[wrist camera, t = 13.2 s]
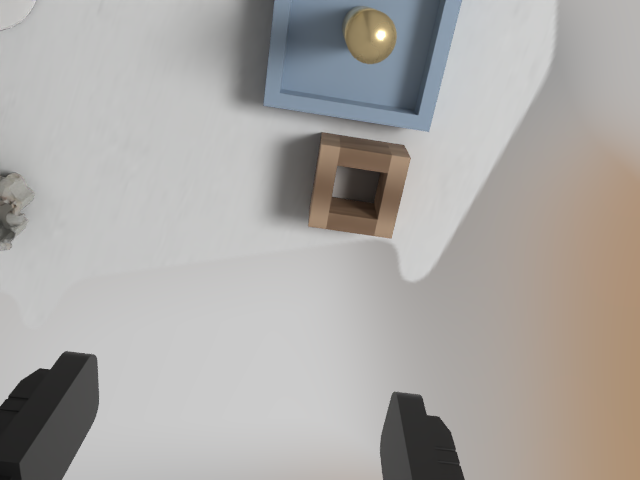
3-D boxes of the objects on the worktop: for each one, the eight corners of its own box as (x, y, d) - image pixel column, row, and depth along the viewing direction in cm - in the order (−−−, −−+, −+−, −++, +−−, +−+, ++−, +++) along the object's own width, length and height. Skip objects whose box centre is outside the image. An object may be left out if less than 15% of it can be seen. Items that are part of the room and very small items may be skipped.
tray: (287, -88, 39) (284, -93, 36) (466, -55, 40) (476, -58, 37) (267, 98, 45) (263, 105, 42) (422, 123, 46) (428, 131, 43)
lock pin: (346, 1, 41) (352, 5, 32) (385, 10, 41) (402, 15, 32) (338, 44, 42) (341, 58, 33) (376, 52, 42) (389, 68, 33)
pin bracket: (321, 132, 46) (321, 144, 43) (404, 145, 47) (410, 158, 43) (309, 209, 50) (308, 226, 46) (386, 220, 50) (391, 238, 47)
